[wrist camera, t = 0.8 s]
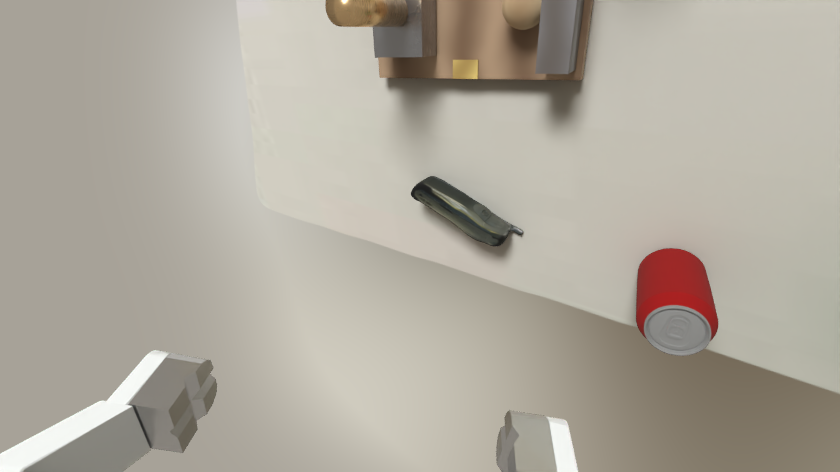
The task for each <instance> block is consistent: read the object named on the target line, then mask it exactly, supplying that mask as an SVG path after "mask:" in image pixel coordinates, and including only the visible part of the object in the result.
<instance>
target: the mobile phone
mask: <svg viewBox="0 0 840 472" xmlns="http://www.w3.org/2000/svg"><path fill="white" fill-rule="evenodd" d="M411 196H412V197H413V198H414V199H416V200H417V201H420V202H421V203H423V204H425V205H426V206H428V207H430V208H431V209H433V210H434V211H435V212H437V213H438V214H440V215H442V216H443V217H445V218H447V219H448V220H450V221H451V222H453V223H454V224H455V225H456V226H457V227H459V228H460V229H461V230H463V231H464V232H465V233H466V234H467V235H469V236H470V237H472V238H474V239H475V240H477V241H480V242H484V243H486V244H489V245H491V246H500V245H501V244H503V243H504V241H505V240H506V238H507V236H508V234H509V232H510V231H514V232H516V233H517V234H519V235H521V234H522V233H523V231H522V230H521V229H519V228H517V227H515V226H513V225H511V224H509V223H508V222H506V221H504V220H502V219H501V218H499V217H498V216H496V215H495V214H493V213H492V212H491V211H490V210H489V209H488V208H487V207H485V206H484V205H482V204H480V203H479V202H477V201H475V200H473V199H472V198H470V197H469V196H467V195H466V194H465V193H463V192H461V191H460V190H458V189H456V188H455V187H453V186H451V185H450V184H448V183H447V182H445V181H443V180H442V179H439V178H437V177H435V176H430V177H428V178H426V179H424V180H423V181H421V182H420V183H418V184H417V185H416V186H415V187H414V188H413V190H412V192H411Z"/></svg>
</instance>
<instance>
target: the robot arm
mask: <svg viewBox="0 0 840 472" xmlns="http://www.w3.org/2000/svg"><path fill="white" fill-rule="evenodd" d="M212 370H213V366H212V362H211V360H206V359H200V358H195V357H190V356H184V355H179V354H174V353H169V352H163V351H157V350H153V351H152V352H150V353H149V354H147V355H146V356H145V357H144V359H143V360H142V361H141V362H140V363H139V364H138V366H137V367H136V368H135V369H134V370H133V371H132V372H131V374H130V375H129V376H128V377H127V378H126V379H125V380H124V382H123V383H122V384H121V385H120V386H119V387H118V388H117V390H116V391H115V392H114V393H113V394H112V395H111V397H110V398H109V399H108V400H107V401H102V400H101V401H99V402H97V403H95V404H93V405H92V406H90V407H88V408H86V409H84V410H82V411H80V412H78V413H77V414H74V415H72V416H71V417H69V418H67V419H65V420H63V421H61V422H59V423H57V424H56V425H54V426H52V427H50V428H48V429H46V430H44V431H42V432H40V433H39V434H37V435H35V436H33V437H31V438H29V439H27V440H25V441H23V442H22V443H20V444H18V445H16V446H14V447H12V448H10V449H9V450H7V451H5V452H3V453H1V454H0V472H123V471H124V470H126V469H127V468H128V467H130V466H131V465H132V464H134V463H135V462H136V461H138V460H139V459H140V458H141V457H143V456H144V455H145V454H147V453H148V452H149V451H151V449H150V448H152V449H159V450H166V451H173V452H180V453H183V452H184V451H185V449H186V447H187V446H188V444H189V442H190V441H191V439H192V438H193V436H194V434H195V433H196V431H197V420H198V419H200V418H201V417H203V416H205V415H206V414H207V413H208V411H209V409H210V408H211V406H212V404H213V402H214V399H215V396H216V392H217V383H216V379H215V378H214V377H213V376H212V375H211V374H210V373H211V371H212ZM496 452H497V453H496V456H497V465H498V467H499V468H500V470H501V471H502V472H579V471H578V467H577V462H576V458H575V453H574V449H573V444H572V440H571V435H570V431H569V426H568V423H567V422H566V420H564V419H559V418H552V417H545V416H544V415H537V414H530V413H524V412H517V411H511V410H509V411H508V412H507V413H506V416H505V426H503V427H501V429H500V432H499V435H498V440H497V451H496Z"/></svg>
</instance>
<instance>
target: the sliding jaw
mask: <svg viewBox="0 0 840 472" xmlns="http://www.w3.org/2000/svg"><path fill="white" fill-rule="evenodd" d="M326 12H327V15H328V17H329V19H330V20H331V22H332V23H333V24H335V25H337V26H348V27H373V36H374V50H375V58H379V57H427V56H436V0H326Z"/></svg>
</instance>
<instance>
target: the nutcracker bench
mask: <svg viewBox="0 0 840 472" xmlns="http://www.w3.org/2000/svg"><path fill="white" fill-rule="evenodd" d="M592 6H593V0H436V56H427V57H379V58H378V59H379V74H380V78H453V79H525V80H581V79H583V74H584V66H585V59H586V51H587V44H588V36H589V29H590V21H591V14H592Z"/></svg>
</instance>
